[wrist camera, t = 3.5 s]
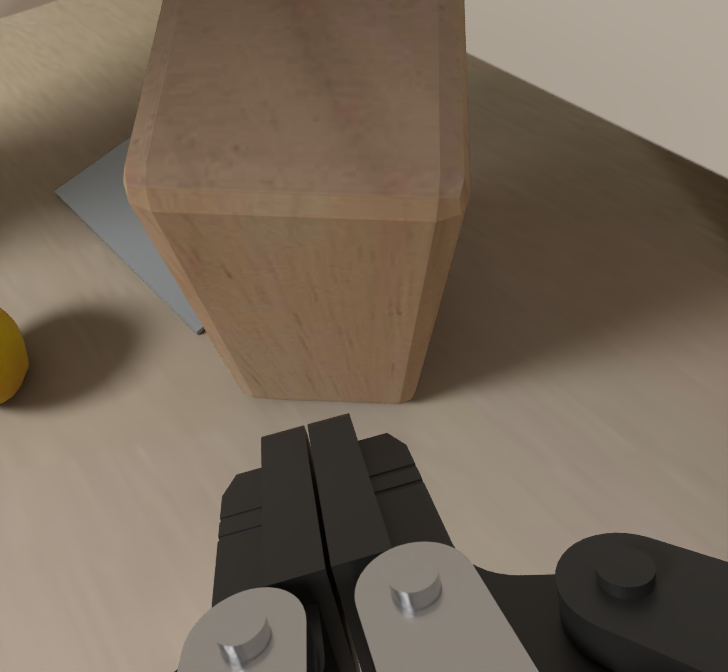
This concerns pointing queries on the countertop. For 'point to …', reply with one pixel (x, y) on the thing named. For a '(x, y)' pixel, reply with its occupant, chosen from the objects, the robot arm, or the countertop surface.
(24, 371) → the apple
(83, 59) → the countertop surface
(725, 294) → the countertop surface
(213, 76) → the block
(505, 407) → the countertop surface
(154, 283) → the mat
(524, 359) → the countertop surface
